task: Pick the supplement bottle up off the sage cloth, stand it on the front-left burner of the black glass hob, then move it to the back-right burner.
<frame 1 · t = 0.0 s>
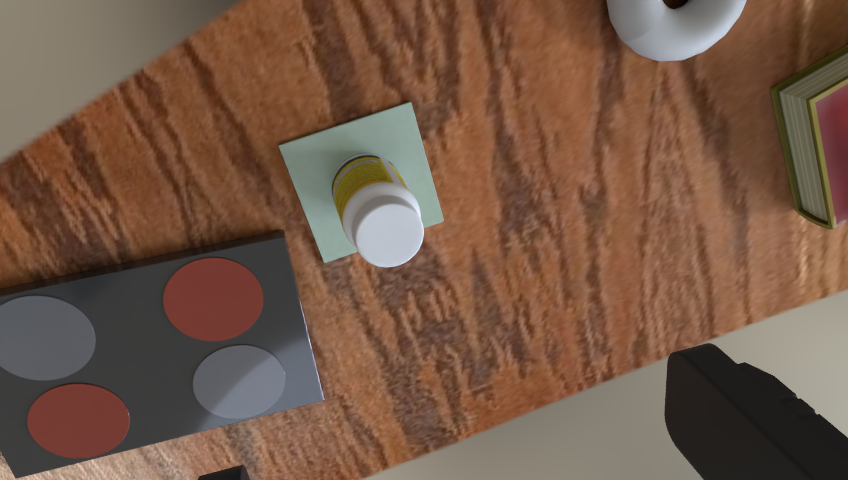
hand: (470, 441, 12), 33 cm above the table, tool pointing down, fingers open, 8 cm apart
cloth: (365, 184, 44), on the table
supplement bottle: (365, 184, 44), resting on cloth
hob: (148, 351, 45), on the table
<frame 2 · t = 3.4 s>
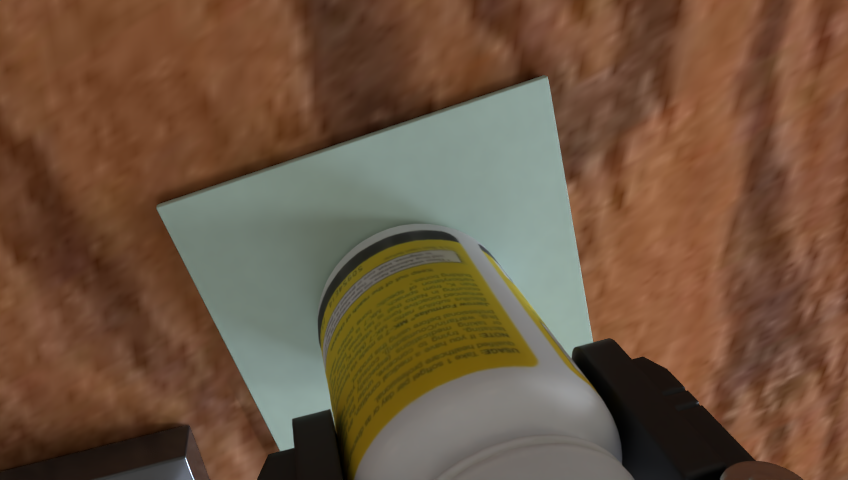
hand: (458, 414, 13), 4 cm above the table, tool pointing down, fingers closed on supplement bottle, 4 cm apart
cloth: (410, 301, 16), on the table
supplement bottle: (410, 302, 16), resting on cloth, touching gripper
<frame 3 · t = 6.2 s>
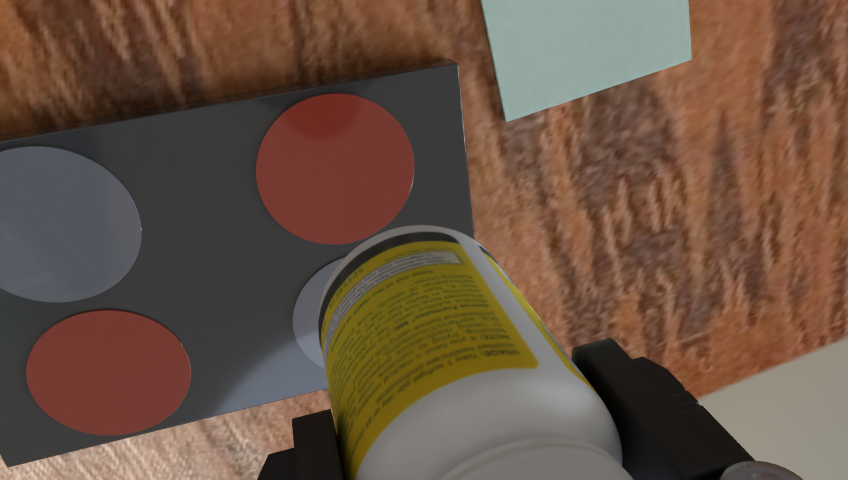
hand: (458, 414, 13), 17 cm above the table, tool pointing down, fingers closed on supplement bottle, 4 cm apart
supplement bottle: (410, 303, 16), point 13 cm above the table, touching gripper
hob: (222, 262, 28), on the table
when the fingers open (5 cm above the table, at t = 9.2 s): supplement bottle stays where it is, resting on hob.
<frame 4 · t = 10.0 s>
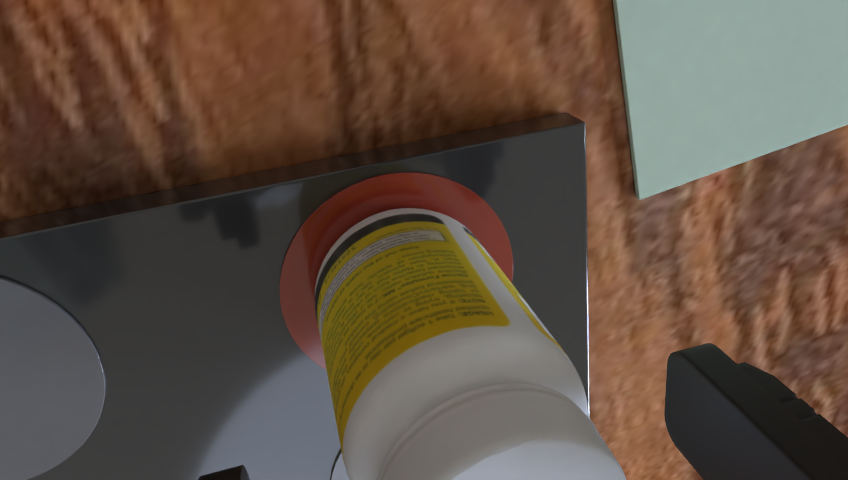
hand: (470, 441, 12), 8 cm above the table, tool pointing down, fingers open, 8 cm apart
cloth: (765, 2, 18), on the table
supplement bottle: (401, 282, 18), point 1 cm above the table, touching hob
hob: (228, 408, 19), on the table
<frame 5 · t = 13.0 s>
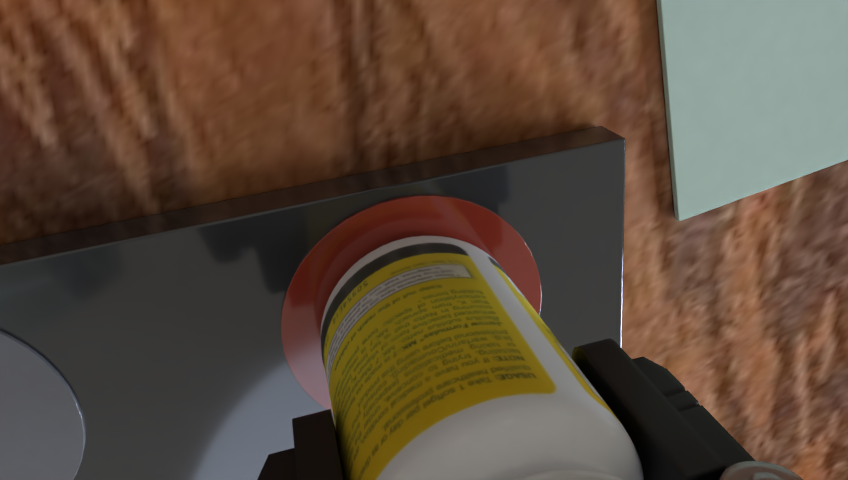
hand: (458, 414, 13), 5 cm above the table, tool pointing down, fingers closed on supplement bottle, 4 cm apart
cloth: (824, 2, 16), on the table
supplement bottle: (416, 316, 16), point 1 cm above the table, touching gripper, hob
hob: (224, 451, 17), on the table
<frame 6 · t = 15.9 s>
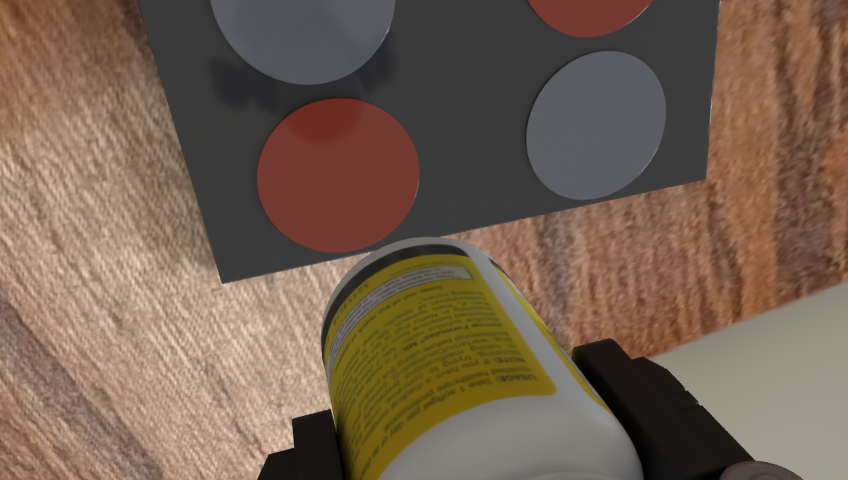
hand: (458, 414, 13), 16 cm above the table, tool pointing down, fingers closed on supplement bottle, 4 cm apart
supplement bottle: (417, 317, 16), point 12 cm above the table, touching gripper
hob: (456, 61, 26), on the table
when the fingers open (5 cm above the table, at t = 18.8 s): supplement bottle stays where it is, resting on hob.
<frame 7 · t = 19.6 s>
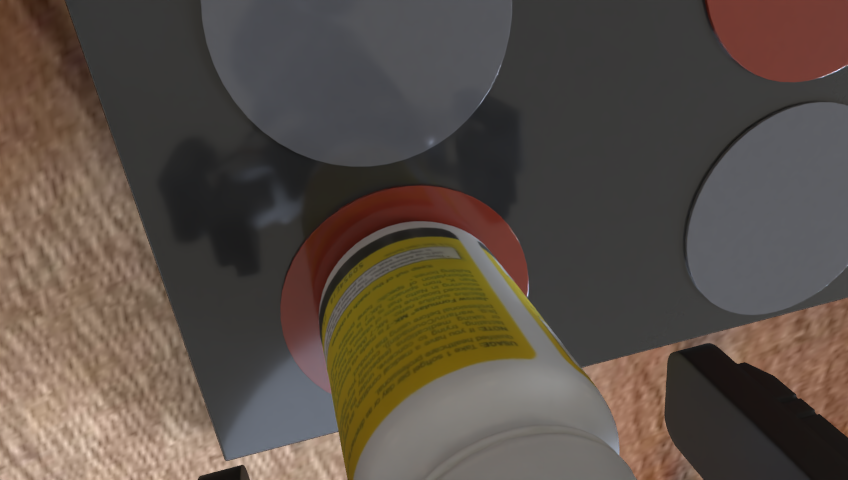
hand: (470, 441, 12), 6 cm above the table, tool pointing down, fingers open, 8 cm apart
supplement bottle: (410, 299, 17), point 1 cm above the table, touching hob
hob: (585, 119, 17), on the table
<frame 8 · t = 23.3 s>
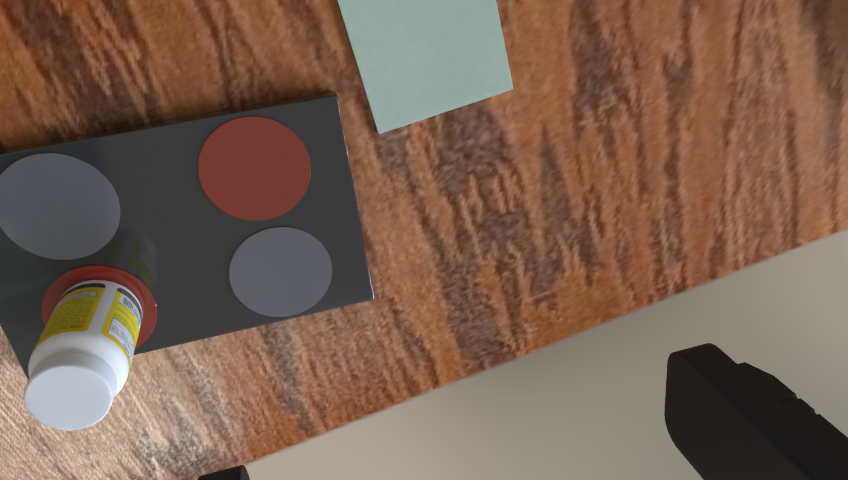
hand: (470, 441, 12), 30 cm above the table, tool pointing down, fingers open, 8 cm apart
cloth: (428, 39, 39), on the table
supplement bottle: (102, 310, 40), point 1 cm above the table, touching hob
hob: (178, 234, 40), on the table
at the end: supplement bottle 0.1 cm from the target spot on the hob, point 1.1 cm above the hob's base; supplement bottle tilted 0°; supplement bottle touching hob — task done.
